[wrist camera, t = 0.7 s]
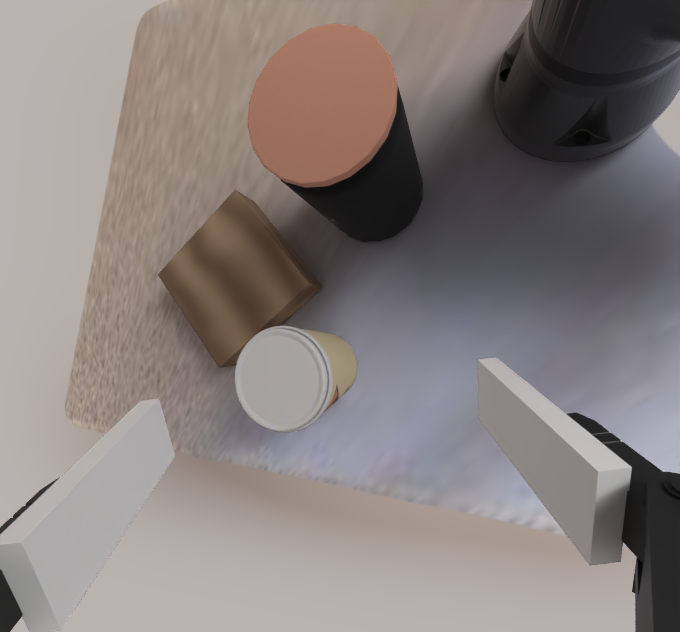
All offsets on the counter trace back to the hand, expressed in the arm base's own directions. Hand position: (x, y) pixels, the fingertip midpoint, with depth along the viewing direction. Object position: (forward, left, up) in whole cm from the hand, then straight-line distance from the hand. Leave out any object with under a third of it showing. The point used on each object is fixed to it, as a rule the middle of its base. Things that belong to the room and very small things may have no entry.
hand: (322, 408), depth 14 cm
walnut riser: (+10, -20, -25) cm, 34 cm away
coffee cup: (+8, -5, -26) cm, 27 cm away
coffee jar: (-9, -16, -26) cm, 32 cm away
